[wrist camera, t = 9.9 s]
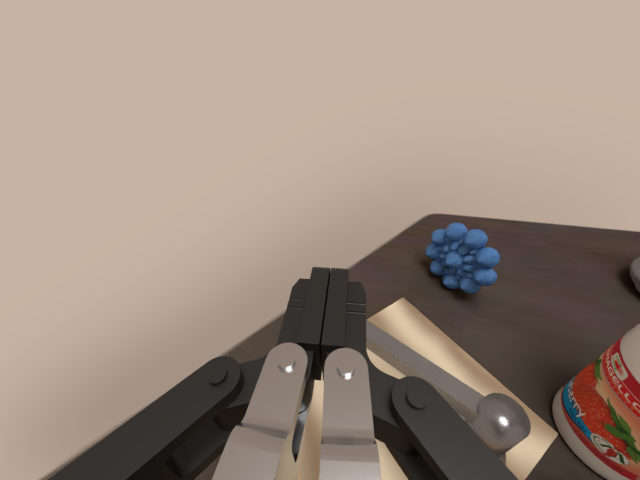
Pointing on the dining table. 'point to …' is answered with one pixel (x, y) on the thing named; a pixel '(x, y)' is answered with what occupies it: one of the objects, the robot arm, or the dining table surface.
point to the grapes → (462, 258)
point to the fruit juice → (605, 411)
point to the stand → (428, 343)
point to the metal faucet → (457, 394)
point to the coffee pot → (635, 273)
